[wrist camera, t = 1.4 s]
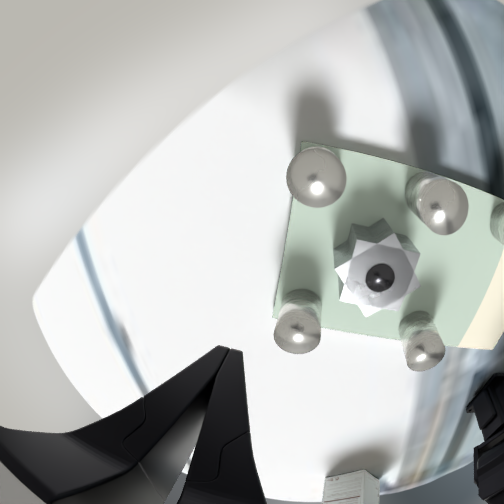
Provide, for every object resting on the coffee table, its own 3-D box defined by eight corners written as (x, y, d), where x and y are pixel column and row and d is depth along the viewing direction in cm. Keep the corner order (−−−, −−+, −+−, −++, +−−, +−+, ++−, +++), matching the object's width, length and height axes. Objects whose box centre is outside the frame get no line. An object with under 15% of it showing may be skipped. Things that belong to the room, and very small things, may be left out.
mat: (544, 219, 13) (549, 222, 13) (489, 344, 19) (492, 349, 18) (302, 141, 17) (301, 141, 16) (273, 311, 22) (272, 317, 22)
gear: (421, 226, 16) (437, 243, 14) (396, 299, 19) (405, 324, 16) (342, 208, 17) (346, 222, 14) (323, 285, 20) (323, 310, 17)
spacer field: (520, 207, 13) (547, 222, 10) (461, 346, 19) (474, 374, 16) (296, 140, 16) (290, 141, 13) (268, 315, 22) (258, 346, 18)
